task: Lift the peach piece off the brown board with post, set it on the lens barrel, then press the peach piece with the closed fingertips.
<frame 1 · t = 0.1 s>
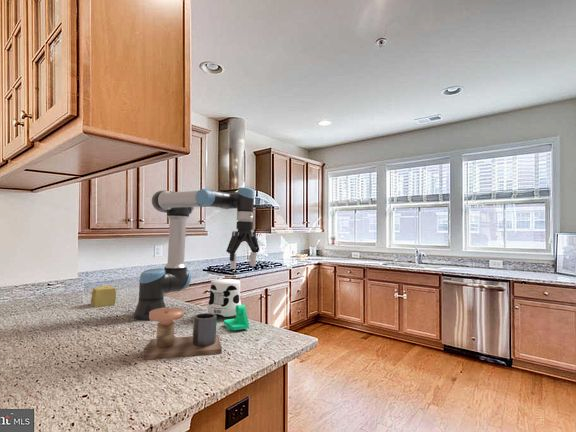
hand: (243, 267, 144), 28 cm above the countertop, tool pointing down, fingers open, 13 cm apart
lens barrel: (204, 342, 120), resting on brown board with post
camera mount: (235, 328, 144), on the countertop
brown board with post: (184, 347, 118), on the countertop
cheese: (103, 305, 178), on the countertop
peach piece: (166, 323, 116), point 9 cm above the countertop, touching brown board with post
milk container: (224, 316, 163), on the countertop
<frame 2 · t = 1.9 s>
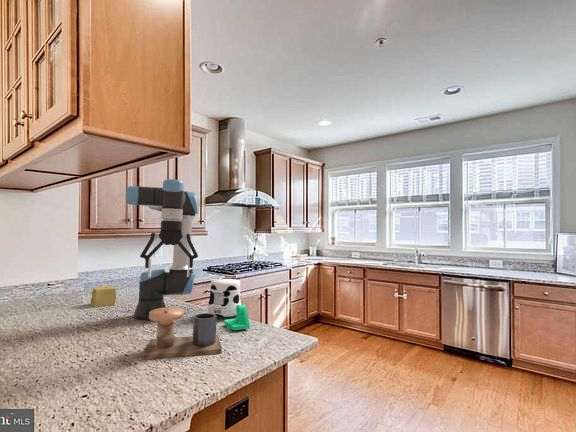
hand: (169, 276, 117), 27 cm above the countertop, tool pointing down, fingers open, 13 cm apart
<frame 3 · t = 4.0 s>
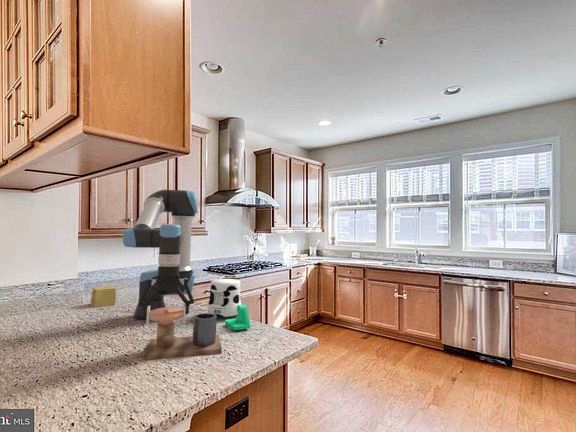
hand: (166, 323, 116), 9 cm above the countertop, tool pointing down, fingers closed on peach piece, 12 cm apart
peach piece: (166, 323, 116), point 9 cm above the countertop, touching gripper, brown board with post
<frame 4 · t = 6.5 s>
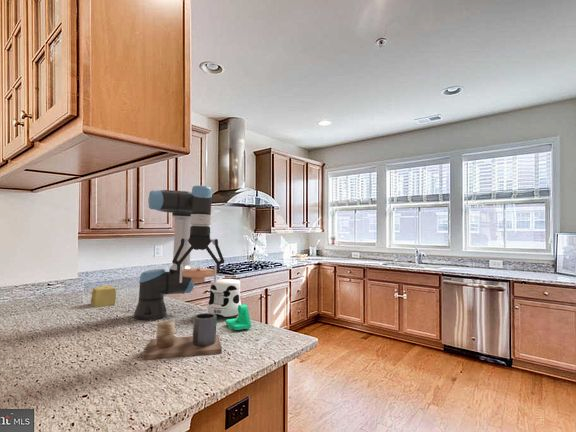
hand: (198, 282, 120), 25 cm above the countertop, tool pointing down, fingers closed on peach piece, 12 cm apart
peach piece: (198, 281, 120), point 25 cm above the countertop, touching gripper
when the fingers open (10 cm above the countertop, at t = 9.2 s): peach piece drops 1 cm, resting on lens barrel.
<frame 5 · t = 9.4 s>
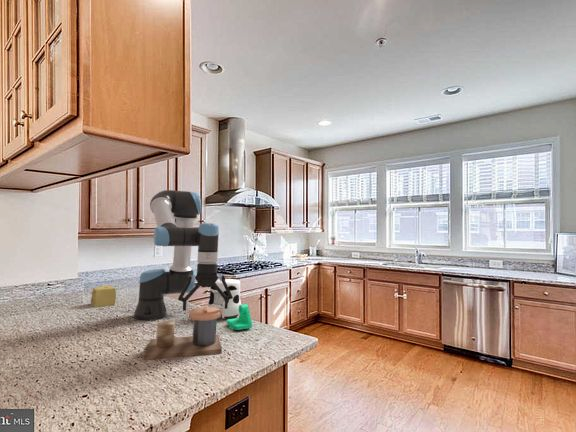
hand: (205, 318, 120), 11 cm above the countertop, tool pointing down, fingers open, 13 cm apart
peach piece: (204, 322, 120), point 9 cm above the countertop, touching lens barrel
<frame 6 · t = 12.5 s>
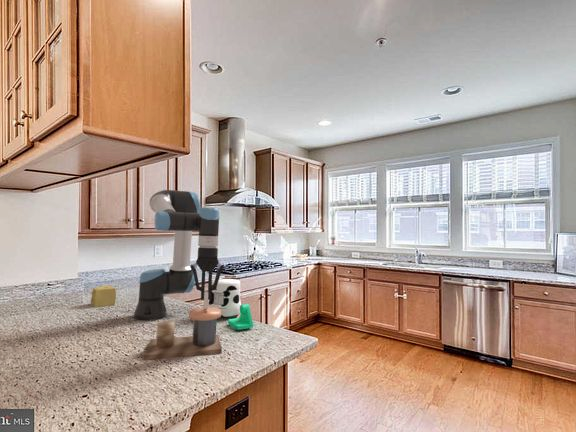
hand: (205, 308, 120), 15 cm above the countertop, tool pointing down, fingers closed
peach piece: (204, 322, 120), point 9 cm above the countertop, touching gripper, lens barrel
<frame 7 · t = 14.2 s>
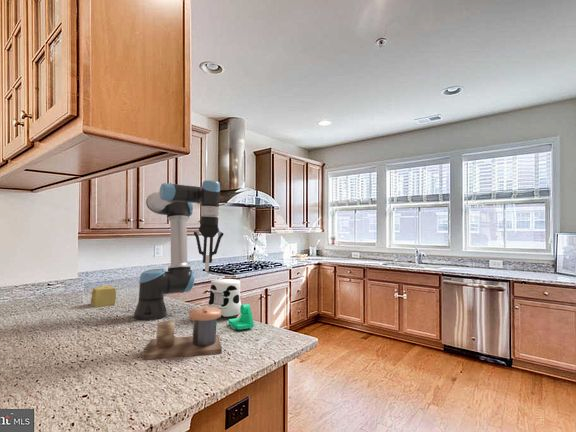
hand: (206, 270, 135), 27 cm above the countertop, tool pointing down, fingers closed
peach piece: (204, 322, 120), point 9 cm above the countertop, touching lens barrel
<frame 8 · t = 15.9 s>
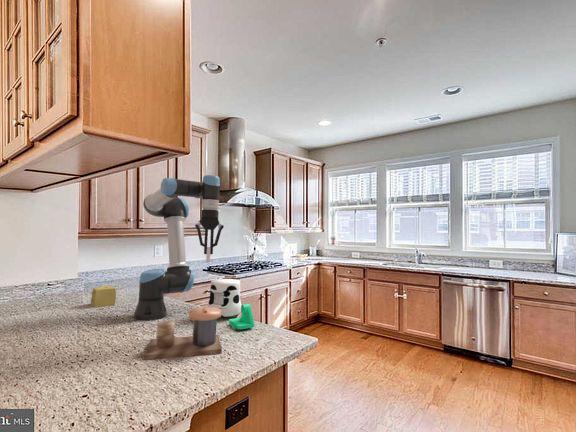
hand: (208, 261, 140), 30 cm above the countertop, tool pointing down, fingers closed
at the end: peach piece 0.0 cm off-centre on the lens barrel, point 7.5 cm above the lens barrel's base; peach piece tilted 0°; the gripper is holding nothing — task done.
